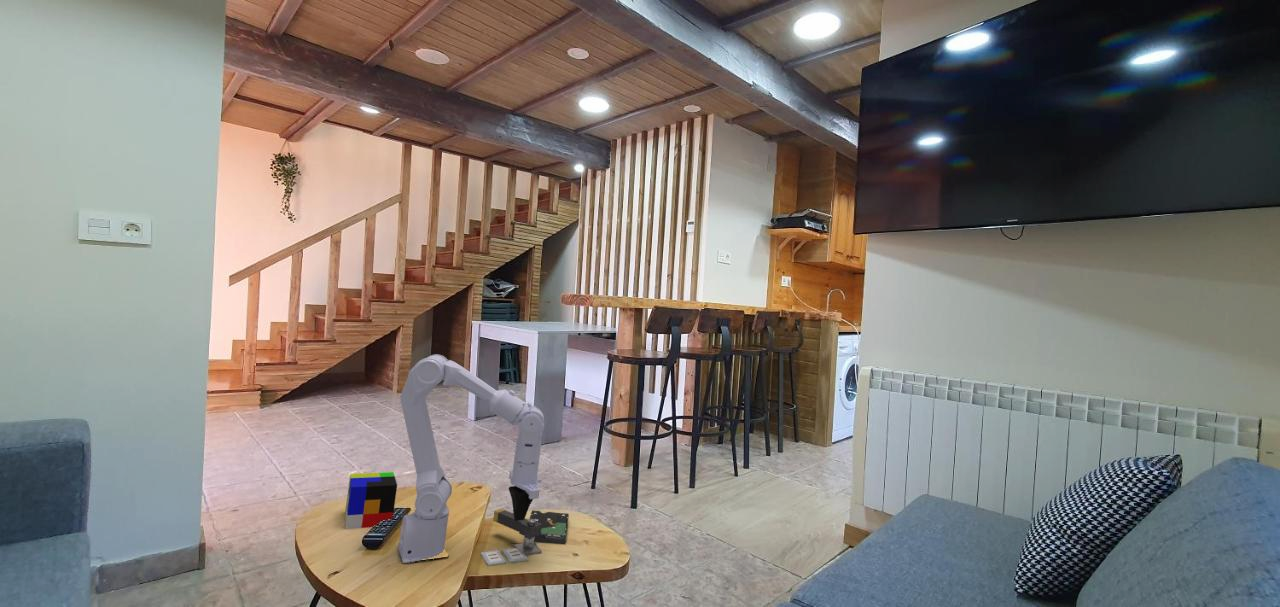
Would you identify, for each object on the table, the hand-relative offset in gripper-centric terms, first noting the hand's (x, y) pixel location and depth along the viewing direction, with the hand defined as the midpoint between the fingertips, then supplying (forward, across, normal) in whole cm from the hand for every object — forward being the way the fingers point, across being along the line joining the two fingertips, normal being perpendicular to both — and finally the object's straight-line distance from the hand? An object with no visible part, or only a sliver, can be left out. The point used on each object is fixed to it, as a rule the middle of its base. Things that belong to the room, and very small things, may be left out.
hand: (519, 519), depth 122 cm
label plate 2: (+8, 0, 0) cm, 8 cm away
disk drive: (+9, +11, -13) cm, 19 cm away
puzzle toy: (+9, +29, +28) cm, 41 cm away
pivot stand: (+8, +2, -4) cm, 10 cm away
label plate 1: (+8, 0, +5) cm, 10 cm away
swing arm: (+5, +6, -2) cm, 8 cm away
